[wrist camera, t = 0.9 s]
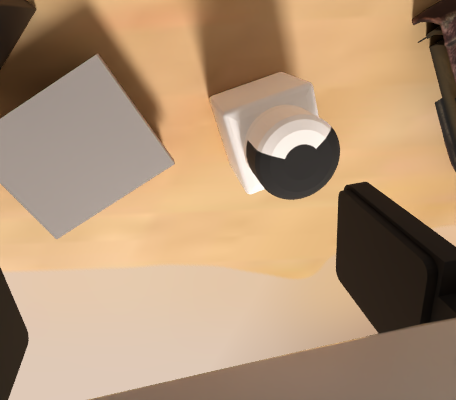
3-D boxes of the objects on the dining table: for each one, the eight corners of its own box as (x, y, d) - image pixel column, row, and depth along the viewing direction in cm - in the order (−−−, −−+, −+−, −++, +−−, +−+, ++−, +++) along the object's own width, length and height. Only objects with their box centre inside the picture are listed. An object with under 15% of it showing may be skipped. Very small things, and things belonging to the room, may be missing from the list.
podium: (101, 50, 31) (96, 54, 28) (171, 149, 36) (174, 163, 32) (-19, 130, 32) (-39, 144, 28) (65, 218, 36) (56, 239, 33)
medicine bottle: (298, 142, 38) (359, 190, 27) (230, 167, 38) (264, 225, 27) (282, 70, 35) (344, 92, 24) (207, 96, 34) (236, 130, 24)
